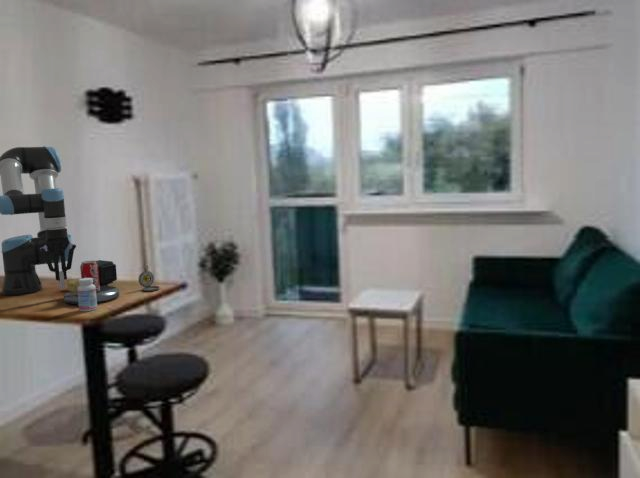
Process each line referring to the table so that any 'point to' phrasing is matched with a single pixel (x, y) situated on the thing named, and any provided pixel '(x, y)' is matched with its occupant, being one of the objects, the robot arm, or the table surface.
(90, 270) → the beverage can
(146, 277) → the pocket watch
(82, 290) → the pill bottle
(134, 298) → the table surface
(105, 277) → the camera
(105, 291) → the turntable
